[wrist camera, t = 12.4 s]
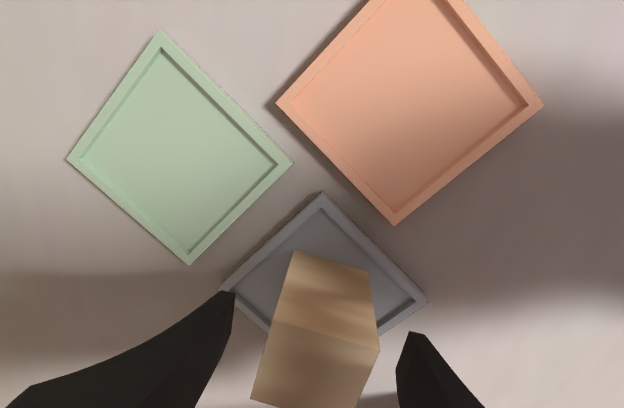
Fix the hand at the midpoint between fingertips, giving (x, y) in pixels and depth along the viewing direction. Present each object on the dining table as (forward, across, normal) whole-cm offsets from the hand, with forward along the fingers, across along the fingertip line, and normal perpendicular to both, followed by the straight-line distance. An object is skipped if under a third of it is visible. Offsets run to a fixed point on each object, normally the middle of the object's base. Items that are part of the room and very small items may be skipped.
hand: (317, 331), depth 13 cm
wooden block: (+3, 0, 0) cm, 3 cm away
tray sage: (+3, +8, -5) cm, 10 cm away
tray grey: (+3, 0, 0) cm, 3 cm away
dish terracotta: (+3, -2, -9) cm, 10 cm away
